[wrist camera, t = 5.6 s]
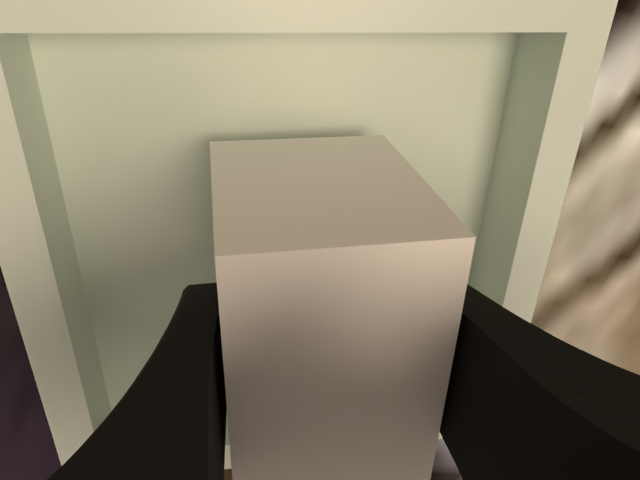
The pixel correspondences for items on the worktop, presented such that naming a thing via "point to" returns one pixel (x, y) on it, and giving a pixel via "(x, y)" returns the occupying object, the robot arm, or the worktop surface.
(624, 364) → the worktop surface
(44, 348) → the tray
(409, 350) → the tall beige upright block
